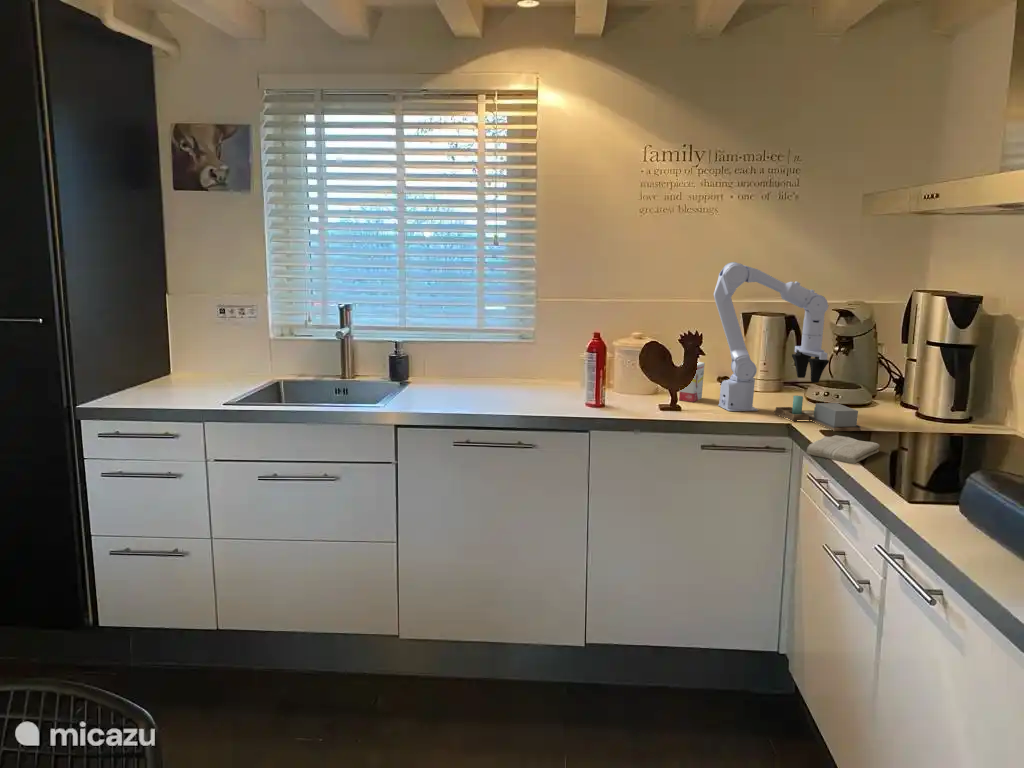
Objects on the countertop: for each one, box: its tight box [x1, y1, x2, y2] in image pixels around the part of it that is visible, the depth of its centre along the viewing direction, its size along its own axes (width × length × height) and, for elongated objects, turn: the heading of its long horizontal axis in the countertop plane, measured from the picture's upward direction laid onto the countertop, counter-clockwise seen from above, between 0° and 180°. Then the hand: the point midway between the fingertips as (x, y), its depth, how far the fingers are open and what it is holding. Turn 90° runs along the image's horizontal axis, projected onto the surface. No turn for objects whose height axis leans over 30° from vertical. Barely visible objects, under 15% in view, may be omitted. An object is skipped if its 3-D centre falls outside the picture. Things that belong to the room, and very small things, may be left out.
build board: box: [774, 406, 810, 422], centre depth 237 cm, size 5×10×2 cm, turn 11°
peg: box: [792, 395, 804, 415], centre depth 234 cm, size 3×3×6 cm
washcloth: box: [806, 434, 880, 464], centre depth 200 cm, size 12×18×3 cm, turn 138°
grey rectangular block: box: [814, 402, 859, 427], centre depth 228 cm, size 7×10×4 cm
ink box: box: [678, 361, 706, 403], centre depth 258 cm, size 9×5×12 cm, turn 147°
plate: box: [802, 407, 862, 432], centre depth 233 cm, size 8×22×3 cm, turn 11°
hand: (807, 379), depth 243 cm, fingers open, 7 cm apart
